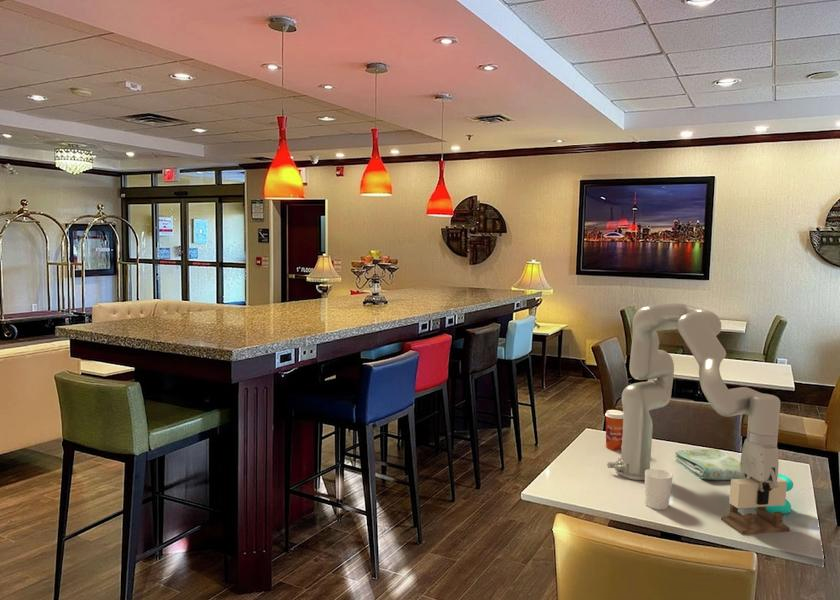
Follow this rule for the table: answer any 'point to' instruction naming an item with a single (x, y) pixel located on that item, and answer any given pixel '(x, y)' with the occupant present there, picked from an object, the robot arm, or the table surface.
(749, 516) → the rack
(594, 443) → the table surface
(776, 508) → the donuts
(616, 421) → the paper cup
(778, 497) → the cream rectangular block
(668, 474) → the white cup
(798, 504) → the table surface
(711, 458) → the towel
